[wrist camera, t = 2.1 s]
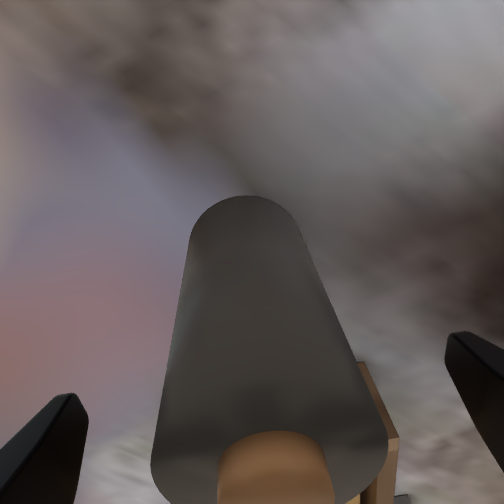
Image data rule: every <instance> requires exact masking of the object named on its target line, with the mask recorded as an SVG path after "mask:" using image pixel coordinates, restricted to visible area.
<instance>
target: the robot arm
mask: <svg viewBox="0 0 504 504" xmlns="http://www.w3.org/2000/svg"><path fill="white" fill-rule="evenodd" d="M445 365H446V368H447V370H448V372H449V374H450V376H451V378H452V380H453V382H454V384H455V386H456V388H457V390H458V392H459V394H460V396H461V399H462V401H463V403H464V405H465V407H466V409H467V411H468V413H469V415H470V417H471V419H472V421H473V423H474V425H475V426H476V428H477V430H478V432H479V433H480V435H481V437H482V439H483V440H484V442H485V443H486V445H487V447H488V448H489V450H490V451H491V453H492V455H493V456H494V458H495V459H496V461H497V463H498V464H499V466H500V467H501V469H502V471H503V472H504V349H502V348H500V347H498V346H496V345H494V344H492V343H490V342H488V341H486V340H484V339H482V338H481V337H479V336H477V335H475V334H473V333H471V332H468V331H462V332H455V333H451V334H449V336H448V338H447V345H446V351H445ZM88 424H89V419H88V414H87V412H86V410H85V409H84V407H83V405H82V403H81V401H80V399H79V398H78V396H77V395H76V394H75V393H67V394H61V395H57V396H56V397H54V398H53V399H52V400H51V401H50V402H49V403H48V404H47V405H46V406H45V407H44V408H43V409H41V410H40V412H38V414H36V415H35V416H34V417H33V418H32V419H31V420H30V421H29V422H28V423H27V424H26V425H25V426H24V427H23V428H22V429H21V430H20V431H19V432H18V433H17V434H16V435H14V437H12V438H11V439H10V440H9V441H8V442H7V443H6V444H5V445H4V446H3V447H2V448H1V449H0V504H73V503H74V499H75V495H76V491H77V486H78V481H79V476H80V470H81V464H82V459H83V453H84V447H85V442H86V436H87V430H88Z"/></svg>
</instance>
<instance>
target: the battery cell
mask: <svg viewBox="0 0 504 504" xmlns="http://www.w3.org/2000/svg"><path fill="white" fill-rule="evenodd" d="M388 448H389V442H388V434H387V431H386V427H385V425H384V423H383V421H382V418H381V416H380V414H379V411H378V409H377V407H376V405H375V402H374V400H373V398H372V396H371V393H370V391H369V389H368V386H367V384H366V382H365V380H364V377H363V375H362V373H361V370H360V368H359V366H358V364H357V361H356V359H355V357H354V355H353V352H352V350H351V348H350V345H349V343H348V341H347V339H346V336H345V334H344V332H343V330H342V327H341V325H340V323H339V320H338V318H337V316H336V314H335V311H334V309H333V307H332V305H331V302H330V300H329V298H328V295H327V293H326V291H325V289H324V286H323V284H322V282H321V279H320V277H319V275H318V273H317V270H316V268H315V266H314V264H313V261H312V259H311V257H310V254H309V252H308V250H307V248H306V245H305V243H304V241H303V239H302V236H301V234H300V232H299V229H298V227H297V225H296V223H295V221H294V220H293V218H292V217H291V215H290V214H289V213H288V212H287V211H286V210H285V209H283V208H282V207H281V206H280V205H278V204H276V203H275V202H272V201H270V200H268V199H265V198H261V197H256V196H236V197H232V198H228V199H225V200H222V201H220V202H218V203H216V204H214V205H213V206H211V207H210V208H209V209H207V210H206V211H205V212H204V213H203V214H202V215H201V216H200V218H199V219H198V220H197V222H196V223H195V225H194V227H193V230H192V232H191V236H190V240H189V246H188V251H187V257H186V263H185V269H184V274H183V279H182V285H181V291H180V296H179V302H178V308H177V313H176V319H175V325H174V330H173V336H172V342H171V347H170V353H169V358H168V364H167V370H166V375H165V381H164V387H163V392H162V398H161V403H160V409H159V415H158V420H157V426H156V432H155V437H154V443H153V449H152V454H151V464H150V466H151V474H152V477H153V480H154V483H155V485H156V486H157V488H158V490H159V491H160V493H161V494H162V495H163V496H164V497H165V498H166V499H167V500H168V501H169V502H170V503H171V504H345V503H347V502H348V501H350V500H352V499H353V498H355V497H356V496H357V495H358V494H360V493H361V492H362V491H364V490H365V489H366V488H367V487H368V486H369V485H370V484H371V483H372V482H373V480H374V479H375V478H376V477H377V475H378V474H379V472H380V471H381V469H382V467H383V466H384V463H385V460H386V458H387V454H388Z"/></svg>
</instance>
